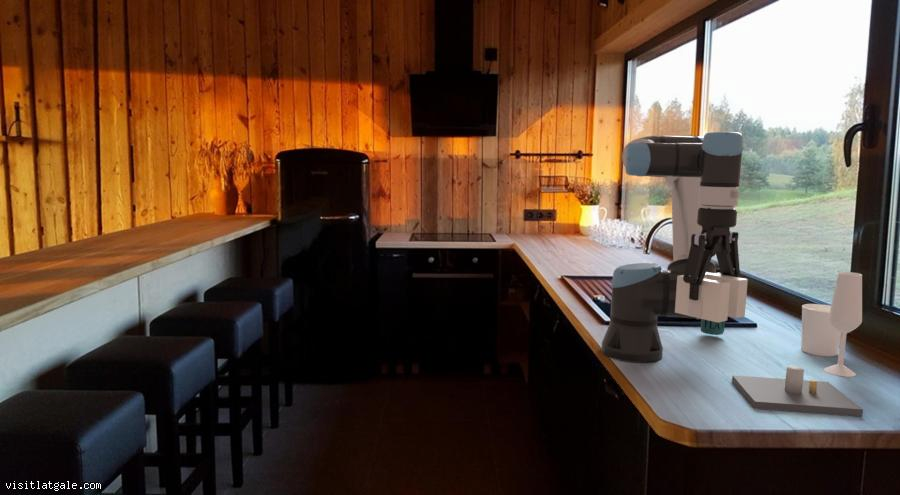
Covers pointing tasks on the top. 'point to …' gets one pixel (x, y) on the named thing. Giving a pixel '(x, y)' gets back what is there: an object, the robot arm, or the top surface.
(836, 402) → the base plate
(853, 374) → the champagne flute
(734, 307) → the beige notched hollow block
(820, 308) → the candle holder
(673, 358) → the top surface
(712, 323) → the beverage bottle
